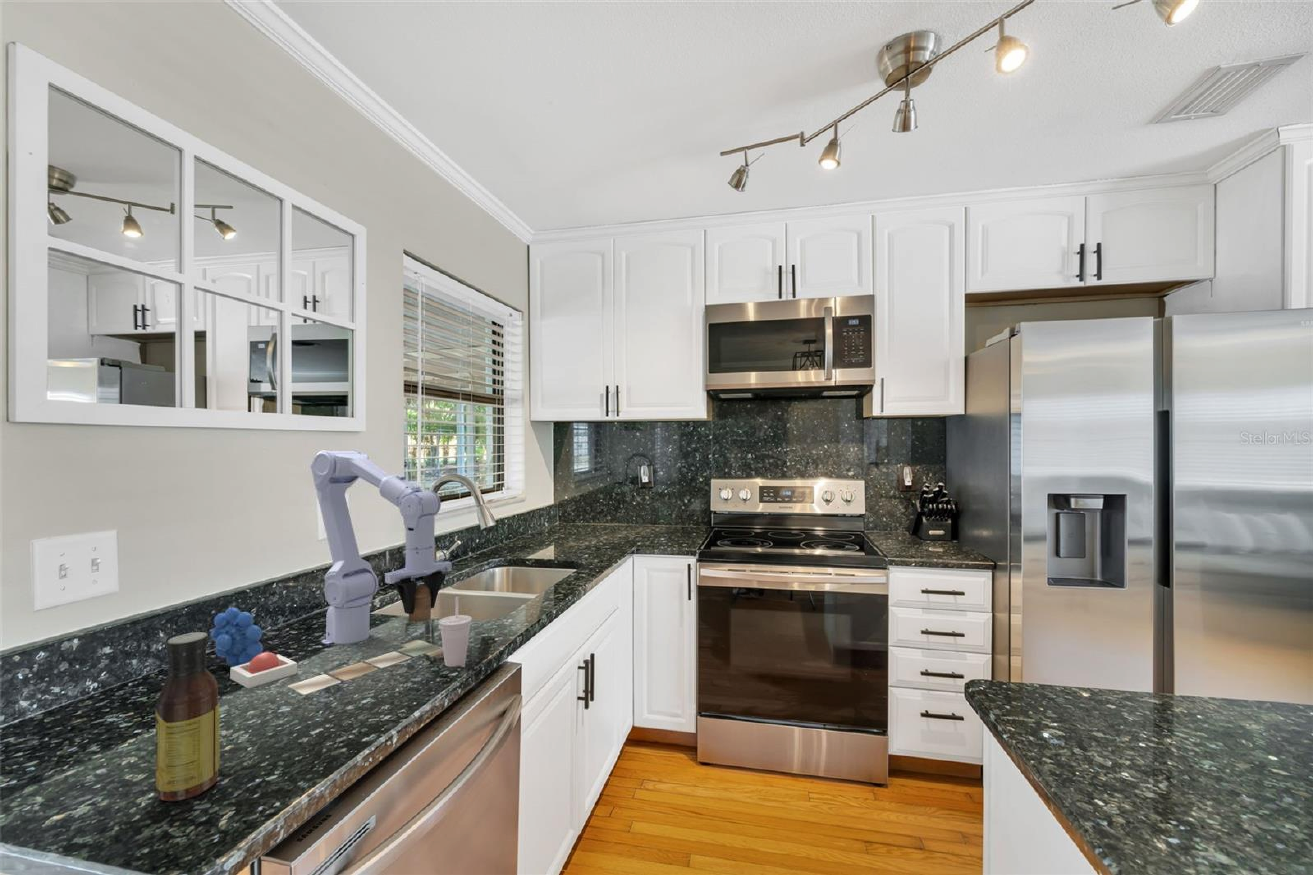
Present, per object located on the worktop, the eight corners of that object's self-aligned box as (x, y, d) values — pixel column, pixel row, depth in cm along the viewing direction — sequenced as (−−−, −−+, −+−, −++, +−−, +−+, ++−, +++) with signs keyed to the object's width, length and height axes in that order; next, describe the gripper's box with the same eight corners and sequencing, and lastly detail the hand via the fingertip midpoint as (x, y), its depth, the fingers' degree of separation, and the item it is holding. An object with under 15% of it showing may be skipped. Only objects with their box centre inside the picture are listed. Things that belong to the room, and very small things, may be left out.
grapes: (190, 673, 107) (191, 612, 107) (224, 660, 114) (225, 602, 114) (240, 678, 105) (241, 615, 105) (271, 664, 112) (272, 605, 112)
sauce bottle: (181, 776, 73) (184, 628, 74) (230, 774, 74) (233, 626, 74) (139, 808, 67) (142, 645, 67) (193, 805, 67) (196, 643, 68)
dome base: (230, 683, 102) (230, 667, 102) (278, 669, 109) (278, 654, 109) (248, 694, 98) (248, 677, 98) (297, 678, 105) (297, 662, 105)
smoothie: (477, 662, 113) (477, 594, 113) (463, 675, 106) (463, 602, 107) (447, 661, 113) (448, 593, 114) (432, 673, 107) (432, 602, 107)
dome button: (243, 680, 103) (244, 654, 103) (272, 671, 107) (273, 646, 107) (254, 686, 100) (255, 659, 100) (283, 677, 104) (284, 651, 104)
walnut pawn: (404, 619, 117) (404, 584, 117) (423, 614, 121) (423, 580, 121) (416, 623, 114) (416, 587, 115) (435, 617, 118) (435, 583, 118)
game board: (278, 688, 100) (278, 683, 100) (417, 643, 124) (417, 638, 124) (309, 705, 94) (309, 699, 94) (450, 654, 117) (450, 649, 117)
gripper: (399, 554, 110) (398, 622, 109) (460, 544, 122) (459, 605, 121) (379, 551, 114) (379, 616, 113) (440, 541, 126) (440, 600, 125)
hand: (419, 610), depth 118 cm, fingers closed on walnut pawn, 4 cm apart
